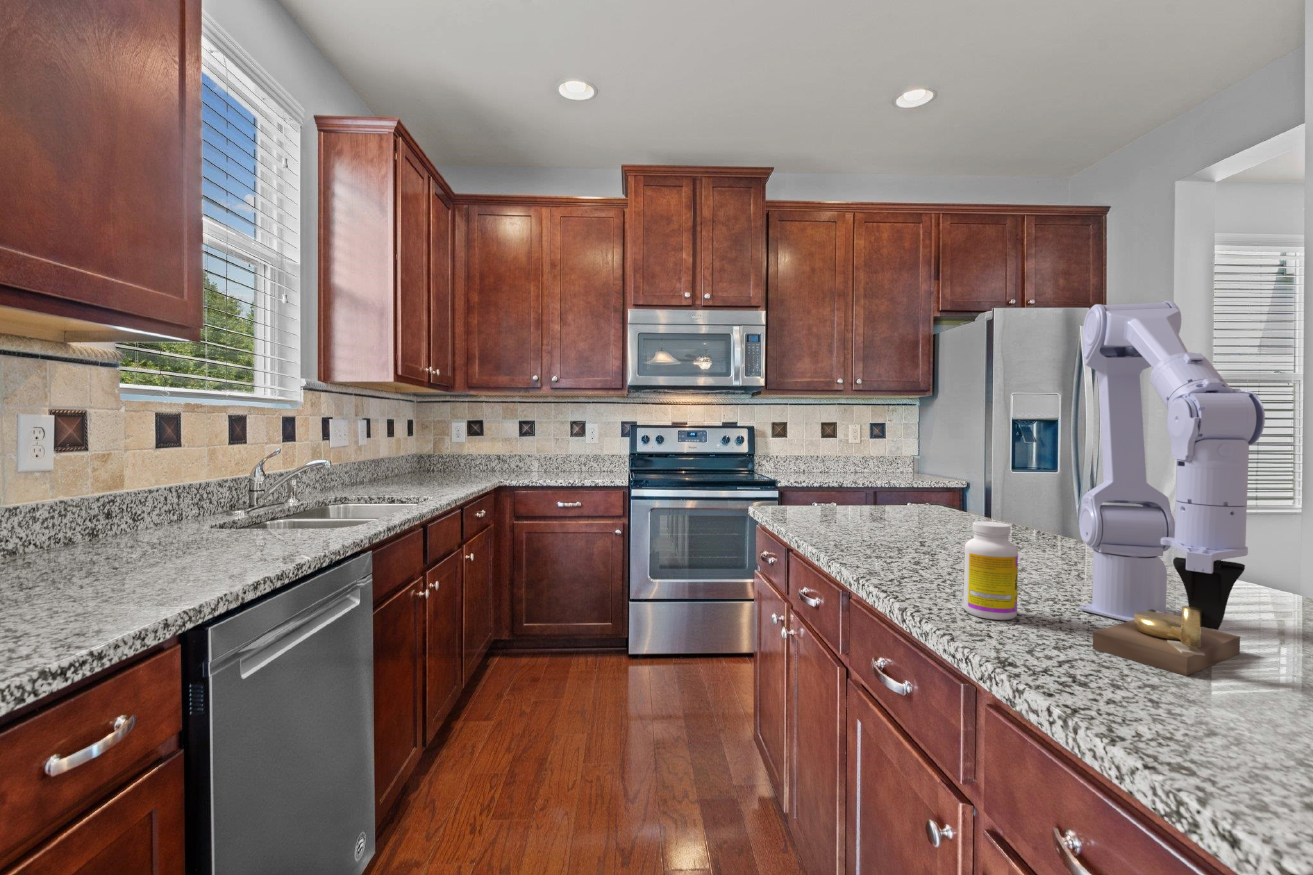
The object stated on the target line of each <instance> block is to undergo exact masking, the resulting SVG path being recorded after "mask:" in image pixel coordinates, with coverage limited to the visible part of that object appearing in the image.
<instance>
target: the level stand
mask: <svg viewBox="0 0 1313 875" xmlns="http://www.w3.org/2000/svg"><path fill="white" fill-rule="evenodd" d="M1148 612H1158V611H1155V610H1153V609H1149V610H1148ZM1160 613H1162V612H1160ZM1092 649H1093V650H1095V651H1096V650H1097V651H1100V652H1102V653H1106V654H1110V655H1113V656H1117V657H1120V658H1124V659H1126V660H1130V661H1134V662H1138V663H1141V664H1144V665H1148V666H1150V667H1155V668H1157V669H1161V670H1165V671H1168V672H1171V673H1175V674H1177V675H1181V676H1185V677H1188V676H1191V675H1193V674H1195V673H1197V672H1200V671H1202V670H1204V669H1207V668H1209V667H1211V666H1214V665H1216V664H1218V663H1221V662H1222V661H1225V660H1228V659H1230V658H1232V657H1235V656H1237V655H1239V654H1241V652H1240V650H1241V636H1240V635H1235V634H1231V633H1227V632H1222V631H1219V630H1215V629H1210V628H1205V627H1201V647H1191V646H1187V645H1184V644H1182V643H1181V640H1173V639H1167V638H1162V637H1157V636H1153V635H1150V634H1146V633H1144V632H1141V631H1139V630H1137V629H1135V628H1134V620H1131V621H1128V622H1127V621H1124V622H1122V623H1119V624H1116V625H1112V626H1109V627H1105V628H1102V629H1098V630H1096V631H1093V632H1092Z"/></svg>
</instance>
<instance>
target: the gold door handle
mask: <svg viewBox="0 0 1313 875" xmlns="http://www.w3.org/2000/svg"><path fill="white" fill-rule="evenodd" d="M1201 614H1202V610H1201V609H1200V608H1196V607H1190V606H1189V605H1183V606H1181V615H1177V614H1174V615H1173V614H1167V613H1160V612H1148V611H1143V612H1136V613H1135V614H1134V628H1135V629H1137V630H1139V631H1141V632H1144V633H1146V634H1150V635H1153V636H1157V637H1162V638H1167V639H1173V640H1181V643H1182V644H1184V645H1187V646H1191V647H1201Z"/></svg>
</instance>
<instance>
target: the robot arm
mask: <svg viewBox="0 0 1313 875" xmlns="http://www.w3.org/2000/svg"><path fill="white" fill-rule="evenodd" d="M1181 327H1182V314H1181V310H1180V308H1179V307H1178V305H1177V304H1176V303H1175V302H1174V301H1172V300H1164V301H1163V302H1146V303H1145V302H1143V303H1142V302H1141V303H1123V304H1122V303H1121V304H1099V303H1096V304H1094V305H1093V306H1092V307H1091V308H1089V309H1088V311H1087V312H1086V315H1085V318H1084V322H1083V326H1082V349H1083V351H1082V352H1083V358H1084V365H1085V366H1086V367H1088V368H1091V369H1093V370H1094V371H1096V375H1097V382H1098V383H1097V384H1098V397H1099V414H1100V415H1099V416H1100V417H1099V418H1100V435H1101V439H1100V440H1101V453H1102V454H1101V455H1102V475H1103V478H1102V479H1103V482H1101V483H1100V484H1098V485H1097V486H1095V487H1093V488H1092V489H1090V490H1088V491H1087V492H1086V493H1085V494H1084V495H1083V496H1082V498H1081V502H1080V503H1081V504H1080V505H1081V506H1080V514H1079V519H1078V520H1079V521H1078V526H1079V527H1078V529H1079V534H1080V538H1081V540H1082V541H1083V542H1084V543H1085V544H1086V546H1087V547H1089V548H1090V549H1093V552H1092V553H1093V555H1092V590H1091V592H1092V594H1091V595H1092V596H1091V603H1090V602H1089V603H1087V604H1083V605H1079V606H1078V610H1080V611H1083V612H1088V613H1091V614H1096V615H1099V616H1104V617H1106V618H1107V617H1108V618H1112V619H1116V620H1121V621H1124V622H1128V621H1131V620H1134V614H1135V613H1136V612H1143V611H1148V610H1149V609H1153V610H1155V611H1158V612H1162V613H1167V614H1173V615H1175V612H1174V611H1170V610H1167V588H1168V586H1167V584H1168V583H1167V582H1168V570H1167V567H1166V565H1165V563H1164V561H1163V560H1162V559H1161V558H1160V557H1164V552H1167V551H1168V550H1170V548H1171V547H1172V548H1173V549H1175V550H1176V551H1178V552H1180V553H1181V554H1182V555H1184V556H1185V557H1178V556H1175V557H1174V558H1173V561H1172V564H1173V566H1174V569H1175V570H1176V572H1177V573H1178V575H1179V577H1180V579H1181V582H1182V585H1183V587H1184V590H1185V593H1186V596H1187V597H1186V598H1187V602H1188V606H1190V607H1196V608H1200V609H1201V610H1202V614H1201V627H1202V628H1206V629H1210V630H1214V631H1219V629H1220V627H1221V625H1222V623H1223V620H1224V617H1225V614H1226V609H1227V604H1228V601H1229V597H1230V595H1231V592H1232V589H1233V588H1234V585H1235V583H1236V582H1237V581H1238V579H1239V578H1240V576H1241V575H1242V574H1243V573H1244V571H1245V569H1246V565H1245V564H1243V563H1242V562H1241V563H1240V562H1235V561H1228V560H1227V559H1234V558H1241V557H1245V556H1246V557H1247V556H1248V554H1249V548H1248V546H1247V545H1246V543H1247V542H1246V541H1247V540H1246V539H1247V537H1246V536H1247V510H1248V509H1247V508H1248V507H1247V506H1248V488H1249V487H1248V484H1249V482H1248V481H1249V460H1250V459H1249V458H1250V457H1249V455H1250V454H1249V452H1250V446H1252V445H1254V444H1256V442H1258V441H1259V439H1260V438H1261V436H1262V434H1263V431H1264V428H1265V424H1266V416H1265V415H1266V412H1265V408H1264V404H1263V402H1262V401H1261V399H1260V398H1259V396H1258V394H1257V393H1256V392H1254V391H1252V390H1241V389H1240V388H1232V387H1231V386H1230V385H1229V384H1228V383H1227V382H1226V379H1224V378H1223V377H1222V375H1221V374H1220V373H1219V371H1218V370H1217V369H1216V368H1215V367H1214V366H1213V364H1212V363H1211V362H1210V361H1209V359H1208V358H1207V357H1205V355H1203V354H1202V352H1201V353H1200V352H1199V353H1198V352H1197V353H1196V352H1189V351H1188V349H1187V348H1186V345H1185V344H1184V342H1183V340H1182V338H1181V337H1180V335H1179V334H1180V331H1181ZM1151 367H1152V368H1153V369H1152V370H1151V371H1150V372H1151V373H1150V376H1149V381H1150V384H1151V385H1152V387H1153V389H1154V390H1155V392H1156V394H1157V395H1158V397H1159V398H1160V400H1161V402H1162V403H1163V404H1164V406H1165V408H1166V409H1167V410H1168V411H1167V417H1166V430H1167V435H1168V436H1169V439H1170V453H1171V457H1172V459H1173V460H1176V482H1175V484H1176V485H1175V486H1176V488H1175V510H1174V511H1175V512H1174V513H1175V514H1174V516H1173V513H1172V510H1171V505H1170V500H1169V497H1168V496H1167V495H1165V494H1164V493H1163V492H1162V491H1159V490H1158V489H1157V488H1155V487H1154V486H1152V485H1151V484H1149V483H1148V482H1147V472H1146V471H1147V469H1146V468H1147V467H1146V455H1145V454H1146V453H1145V452H1146V451H1145V439H1144V438H1145V436H1144V422H1143V420H1144V419H1143V406H1142V404H1143V403H1142V390H1141V374H1142V372H1143V370H1146V369H1148V368H1151ZM1103 503H1112V504H1103ZM1114 504H1115V505H1114ZM1118 504H1132V505H1118ZM1133 504H1134V505H1133ZM1135 504H1136V505H1135ZM1226 560H1227V561H1226Z"/></svg>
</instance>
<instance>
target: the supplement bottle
mask: <svg viewBox="0 0 1313 875" xmlns="http://www.w3.org/2000/svg"><path fill="white" fill-rule="evenodd" d="M1011 531H1012V530H1011V525H1010V524H1008V523H1004V522H999V521H997V522H996V521H983V520H980V521H979V520H978V521H977V520H976V521H974V522H973V521H972V532H973V538H970V539H968V541H966V542H965V545H964V560H963V561H964V563H963V564H964V566H963V567H964V572H963V609H964V610H965V611H966V612H967V613H968V614H970V615H972V616H974V617H976V618H977V617H978V618H982V619H986V620H987V619H988V620H996V621H1009V620H1012V619H1014V618H1016V616H1017V614H1018V580H1019V579H1018V574H1019V564H1018V562H1019V550H1018V548H1017V546H1016V545H1015V544H1014V543H1013V542H1010V541H1009V537H1010V534H1011Z"/></svg>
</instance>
